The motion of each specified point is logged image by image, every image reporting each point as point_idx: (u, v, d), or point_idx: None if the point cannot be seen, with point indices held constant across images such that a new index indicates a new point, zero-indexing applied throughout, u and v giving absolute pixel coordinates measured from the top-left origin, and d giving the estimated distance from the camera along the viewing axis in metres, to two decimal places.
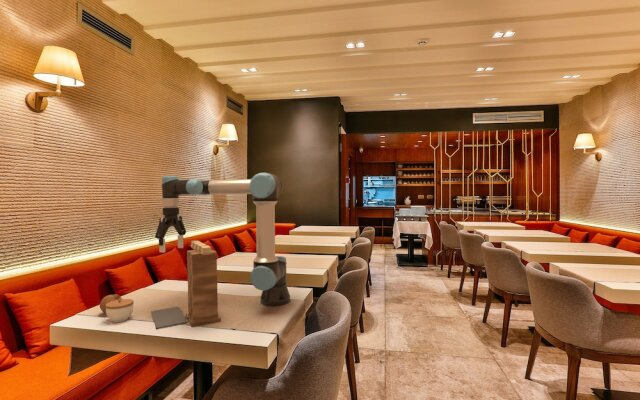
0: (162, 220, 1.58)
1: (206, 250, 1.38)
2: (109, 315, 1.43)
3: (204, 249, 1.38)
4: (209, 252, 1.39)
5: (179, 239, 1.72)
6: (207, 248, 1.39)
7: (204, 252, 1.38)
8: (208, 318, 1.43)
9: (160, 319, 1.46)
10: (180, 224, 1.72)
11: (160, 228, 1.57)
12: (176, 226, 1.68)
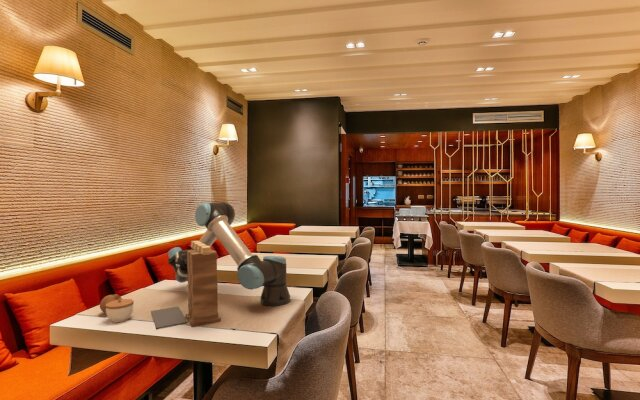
0: None
1: (206, 250, 1.38)
2: (109, 315, 1.43)
3: (204, 249, 1.38)
4: (209, 252, 1.39)
5: None
6: (207, 248, 1.39)
7: (204, 252, 1.38)
8: (208, 318, 1.43)
9: (160, 319, 1.46)
10: None
11: None
12: None
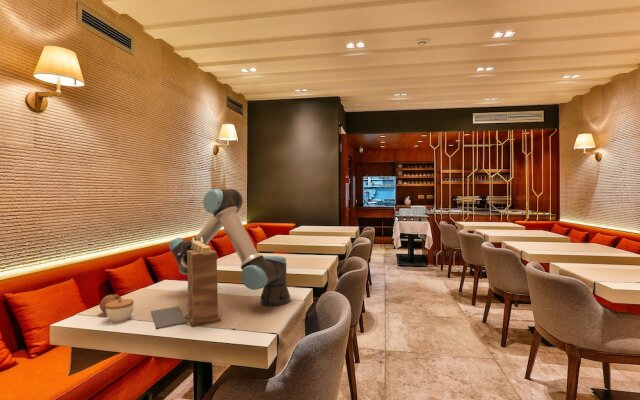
0: (179, 253, 1.62)
1: (206, 250, 1.38)
2: (109, 315, 1.43)
3: (204, 249, 1.38)
4: (209, 252, 1.39)
5: None
6: (207, 248, 1.39)
7: (204, 252, 1.38)
8: (208, 318, 1.43)
9: (160, 319, 1.46)
10: None
11: (181, 249, 1.59)
12: None
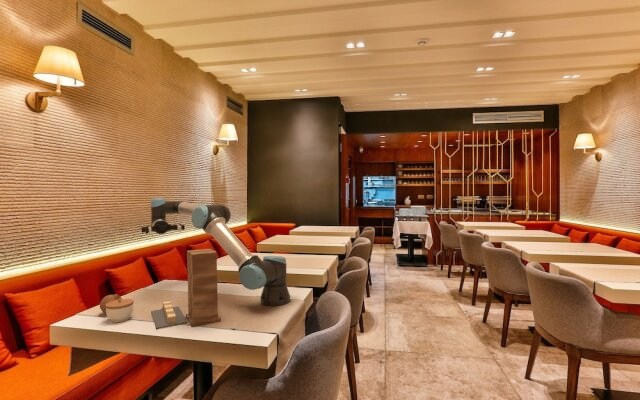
0: None
1: (171, 319, 1.41)
2: (109, 315, 1.43)
3: (169, 318, 1.40)
4: (174, 321, 1.41)
5: (178, 229, 1.72)
6: (172, 317, 1.41)
7: (169, 321, 1.40)
8: (208, 318, 1.43)
9: (160, 319, 1.46)
10: None
11: None
12: (170, 226, 1.77)
